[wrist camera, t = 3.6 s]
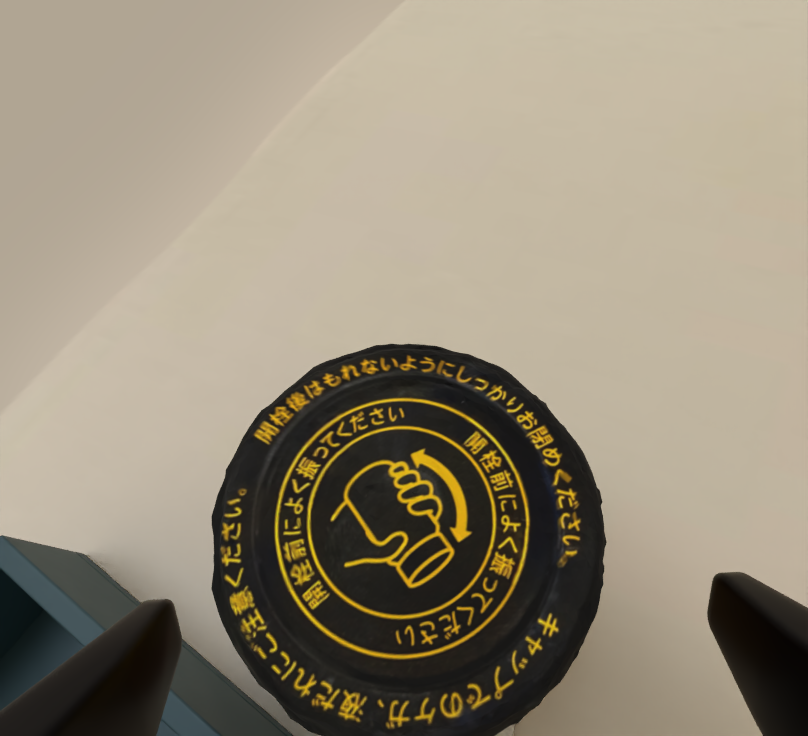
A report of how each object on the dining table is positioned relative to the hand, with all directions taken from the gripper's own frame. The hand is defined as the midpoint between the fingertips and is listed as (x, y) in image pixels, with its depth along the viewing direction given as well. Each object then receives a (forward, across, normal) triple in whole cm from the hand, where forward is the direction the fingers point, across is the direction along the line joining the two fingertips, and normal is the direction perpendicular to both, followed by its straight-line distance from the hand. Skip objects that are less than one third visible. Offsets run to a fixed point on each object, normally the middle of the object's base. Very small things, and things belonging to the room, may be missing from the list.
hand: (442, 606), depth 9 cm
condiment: (+8, 0, +5) cm, 9 cm away
